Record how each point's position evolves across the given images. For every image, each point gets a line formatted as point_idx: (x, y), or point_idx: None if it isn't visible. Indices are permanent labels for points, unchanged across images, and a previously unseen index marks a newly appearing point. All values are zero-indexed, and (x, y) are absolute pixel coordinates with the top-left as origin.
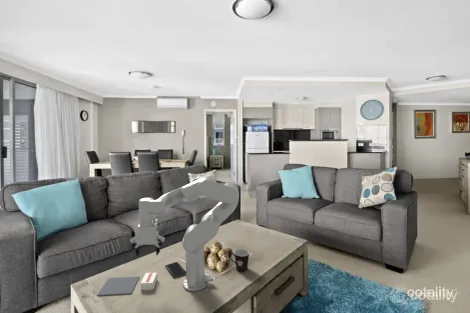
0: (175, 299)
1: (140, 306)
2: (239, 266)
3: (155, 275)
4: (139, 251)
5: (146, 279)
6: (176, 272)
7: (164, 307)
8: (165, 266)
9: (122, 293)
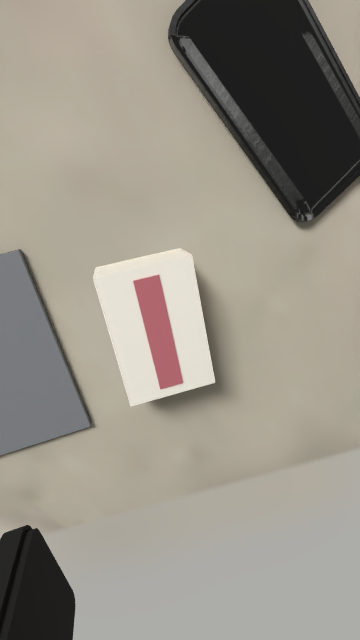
0: (347, 400)
1: (198, 481)
2: None
3: (196, 297)
4: (36, 595)
5: (151, 359)
6: (303, 146)
7: (310, 456)
8: (177, 47)
9: (37, 442)
